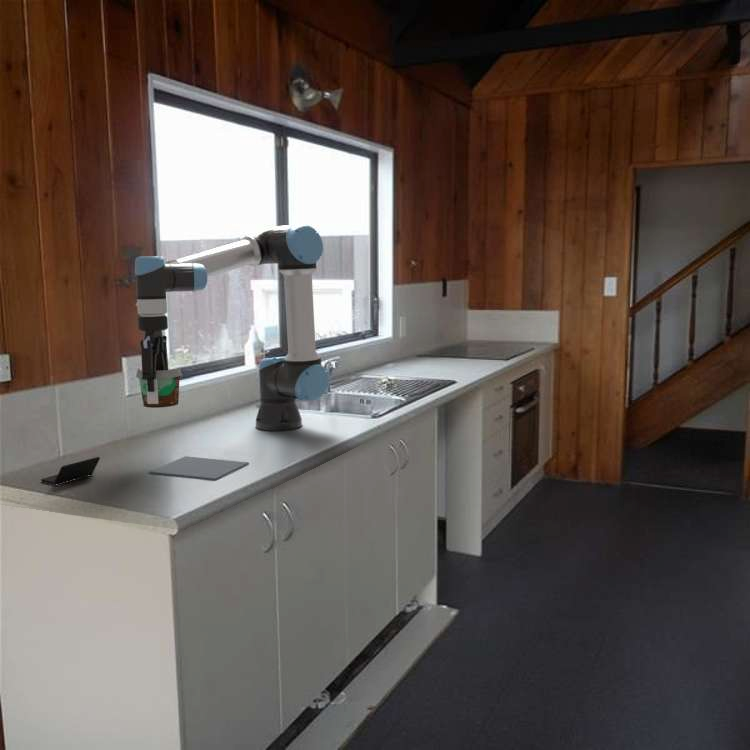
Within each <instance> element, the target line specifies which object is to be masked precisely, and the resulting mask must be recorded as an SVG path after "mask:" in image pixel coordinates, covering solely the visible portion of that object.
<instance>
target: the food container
mask: <svg viewBox="0 0 750 750" xmlns="http://www.w3.org/2000/svg"><path fill="white" fill-rule="evenodd" d="M181 376H183V374H182V370H181V368H180V367H178V368H174V369H168V370H156V378H155V379H157V385H158V404H147V387H146V380H143V379H142V369H141V368H140V367H138V368H137V371H136V376H135V377H136V378H138V380H139V386H140V392H141V398H142V399H141V400H142V404H143V407H144V408H151V409H152V408H157V409H159V408H169V407H174V406H177V405H179V398H180V397H179V395H180V379H181V378H180V377H181Z"/></svg>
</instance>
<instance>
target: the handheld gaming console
mask: <svg viewBox="0 0 750 750" xmlns="http://www.w3.org/2000/svg"><path fill="white" fill-rule="evenodd" d="M100 459H101V457H99V456H96V457H93V458H89V459H85V460H81V461H77V462H73V463H70V464H65V465H62V466H61V467H60V469H59V471H58V473H57V474H55V475H52V476H51V475H50V476H48V477H44V478H40V480H41V481H42V482H47V483H51V484H55V485H56V484H60V483H63V482H66V481H70V480H73V479H77V480H79V479H78V478H81V477H84V478H86V477H85V476H88V475H91V476H93V475H94V471H95V470H96V468H97V465H98V463H99V461H100ZM92 474H93V475H92ZM88 477H89V476H88ZM81 479H82V478H81ZM42 482H41V483H42ZM70 482H71V481H70ZM47 483H46V484H47ZM66 483H67V482H66ZM51 484H50V485H51ZM63 484H64V483H63ZM55 485H54V486H55ZM60 485H61V484H60ZM56 486H57V485H56Z"/></svg>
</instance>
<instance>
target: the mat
mask: <svg viewBox="0 0 750 750" xmlns="http://www.w3.org/2000/svg"><path fill="white" fill-rule="evenodd" d="M247 464H248V465H249V464H250V463H249V462H248V461H239V460H238V461H237V460H230V459H229V460H228V459H218V458H217V459H215V458H206V457H196V456H187V455H186V456H182V457H180V458H177V459H176V460H173V461H171V462H168V463H165V464H163V465H161V466H158V467H156V468H154V469H151V470H149V471H148V474H153V475H160V476H161V475H163V476H172V477H181V478H189V479H190V478H191V479H199V480H208V481H209V480H210V481H217V480H220V479H222V478H224V477H225V475H226V476H228V475H230V474H232V473H234V472H236V471H237V469H238V470H240V469H242V468H244V467H245V465H246V466H248V465H247ZM243 466H244V467H243ZM241 467H242V468H241ZM239 468H240V469H239ZM235 470H236V471H235ZM233 471H234V472H233ZM231 472H232V473H231ZM229 473H230V474H229ZM227 474H228V475H227ZM223 476H224V477H223ZM221 477H222V478H221ZM219 478H220V479H219Z"/></svg>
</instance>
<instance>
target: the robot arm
mask: <svg viewBox="0 0 750 750" xmlns="http://www.w3.org/2000/svg"><path fill="white" fill-rule="evenodd" d="M323 243H324V242H323V239H322V237H321V235H320V233H319V232H318V231H317V230H316V229H315V227H313V226H311V225H307V224H299V223H297V224H290V225H288V224H287V225H277V226H272V227H271V226H270V227H269V228H266V229H263V230H261V231H258V232H255V233H252V234H249V235H246V236H244V237H243V238H242V240H240V241H237V242H233V243H230V244H226V245H222V246H218V247H216V248H211V249H207V250H204V251H201V252H200V251H199V252H196V253H193V254H190V255H189V254H188V255H187V256H182V257H179V258H175V259H173V260H169V261H165V258H164V257H163V256H159V255H156V256H155V255H153V256H152V255H151V256H150V255H148V256H147V255H146V256H143V255H141V256H136V258H135V261H134V275H135V288H136V292H135V293H136V301H137V302H135V307H136V308H137V315H139V316H138V318H137V324H138V331H142V332H143V331H144V338H143V339H144V340H142V339H141V340H140V341H139V342H140V343H139V344H140V349H141V370H142V379H143V380H146V387H147V404H158V385H157V379H155V378H156V370H169V362H168V361H169V360H168V348H167V343H168V342H167V340H168V337H167V335H163V331H166V330H168V328H169V324H168V323H169V321H168V316H167V315H166V314H167V313H168V302H167V293H172V292H197V291H199V292H200V291H203V290H204V289H205V288H206V287H207V285H208V281H209V277H213V276H216V275H220V274H222V273H226V272H229V271H232V270H236V269H239V268H243V267H246V266H248V265H249V266H251V267H258V266H260V265H273V264H277V266H278V271H279V273H280V274H281V275H283V280H284V297H285V298H284V299H285V302H284V303H285V316H286V317H285V318H286V320H285V321H286V333H287V354H286V355H285V356H275V357H267V358H262V359H261V360H260V361H259V364H258V375H259V398H260V404H259V407H258V412H257V415H256V419H255V428H256V429H259V430H262V431H287V430H289V431H290V430H295V429H299V428H300V427H301V426H302V425H303V422H302V421H303V419H302V415H301V413H300V410H299V407H298V403H297V400H299V401H301V402H314V401H317V400H320V399H321V398H322V397H323V396H324V394H325V393H326V392H327V390H328V389H329V386H330V374H329V371H328V370H327V368H326V367H325V366H323V365H322V356H321V354H319V353H318V352H317V351H316V349H317V348H316V331H315V330H316V329H315V311H314V290H313V274H314V272H316V270H317V262H318V261H319V260H320V258H321V256H322V255H323V251H324V244H323ZM301 428H302V427H301Z"/></svg>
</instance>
